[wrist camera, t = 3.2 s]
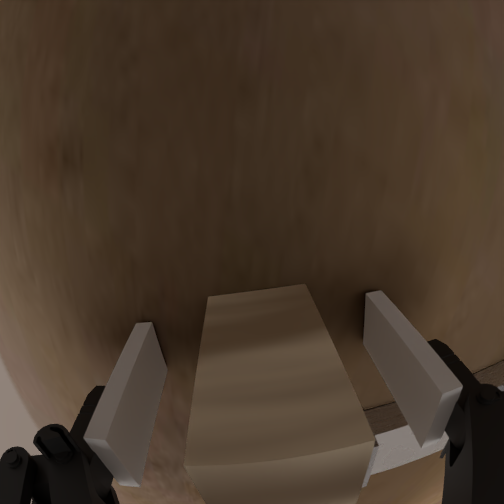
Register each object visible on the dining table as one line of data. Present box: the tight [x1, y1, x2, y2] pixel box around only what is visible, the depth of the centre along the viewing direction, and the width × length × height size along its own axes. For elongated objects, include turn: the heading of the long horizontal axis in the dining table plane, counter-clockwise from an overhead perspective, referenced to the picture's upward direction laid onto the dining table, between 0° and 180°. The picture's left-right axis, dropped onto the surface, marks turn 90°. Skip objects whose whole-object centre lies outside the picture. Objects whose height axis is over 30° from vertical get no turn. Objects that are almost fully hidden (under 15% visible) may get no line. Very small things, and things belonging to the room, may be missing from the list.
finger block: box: [184, 284, 376, 504], centre depth 10 cm, size 5×4×8 cm
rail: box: [362, 360, 504, 487], centre depth 12 cm, size 5×24×10 cm, turn 97°
